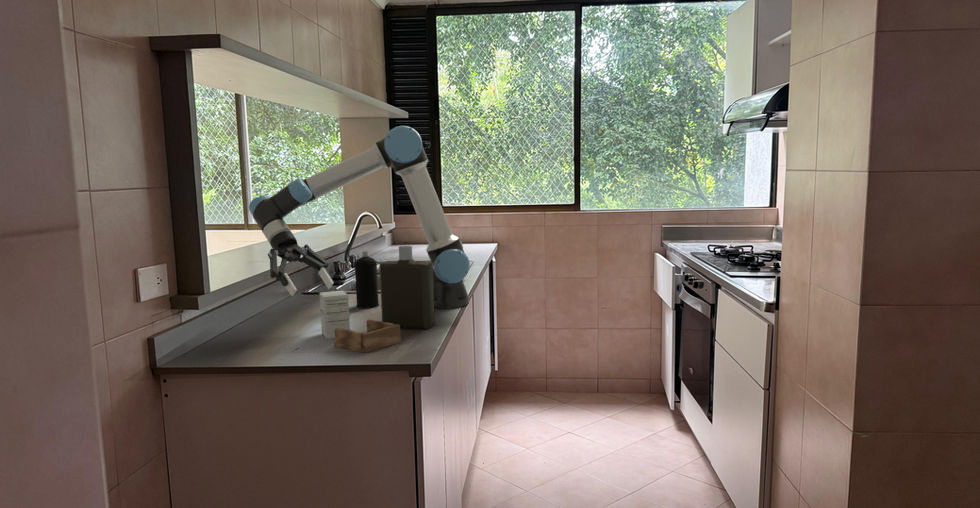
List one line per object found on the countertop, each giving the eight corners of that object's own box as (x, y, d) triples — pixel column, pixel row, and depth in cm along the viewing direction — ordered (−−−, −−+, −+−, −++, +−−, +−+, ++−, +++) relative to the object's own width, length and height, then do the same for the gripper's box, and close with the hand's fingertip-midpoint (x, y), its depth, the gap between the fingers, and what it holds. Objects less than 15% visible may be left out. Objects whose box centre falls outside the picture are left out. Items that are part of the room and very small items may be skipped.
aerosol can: (377, 308, 230) (374, 252, 227) (353, 308, 230) (351, 252, 228) (381, 303, 238) (378, 249, 236) (358, 303, 238) (356, 249, 236)
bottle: (427, 330, 196) (424, 248, 193) (379, 327, 201) (375, 247, 198) (437, 324, 204) (434, 245, 201) (390, 321, 208) (386, 244, 205)
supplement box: (321, 333, 195) (318, 292, 194) (345, 330, 198) (343, 290, 197) (325, 339, 189) (322, 296, 187) (350, 336, 191) (348, 294, 190)
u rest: (334, 346, 181) (333, 328, 180) (369, 335, 191) (368, 319, 190) (366, 353, 173) (365, 334, 172) (400, 342, 183) (399, 324, 183)
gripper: (308, 241, 215) (340, 290, 208) (240, 249, 196) (272, 304, 189) (317, 226, 211) (350, 275, 204) (249, 233, 192) (282, 287, 185)
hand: (313, 289), depth 196 cm, fingers open, 13 cm apart
